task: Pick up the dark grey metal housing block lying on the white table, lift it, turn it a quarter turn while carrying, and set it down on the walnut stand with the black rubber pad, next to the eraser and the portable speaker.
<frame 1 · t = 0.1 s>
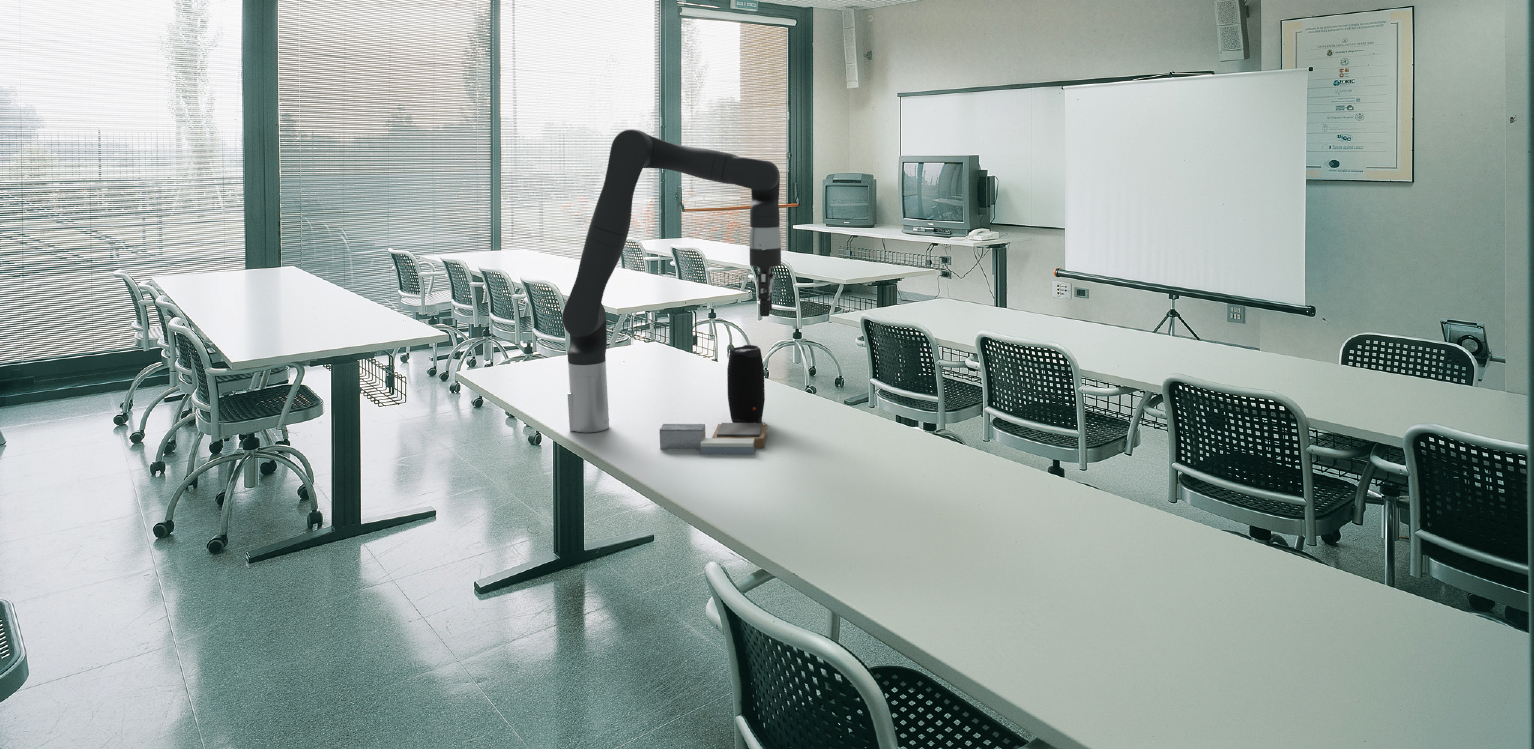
hand: (766, 313, 231), 29 cm above the table, tool pointing down, fingers open, 8 cm apart
eraser: (727, 453, 220), on the table
housing: (683, 447, 224), on the table
portable speaker: (746, 423, 244), on the table
stand: (740, 440, 228), on the table
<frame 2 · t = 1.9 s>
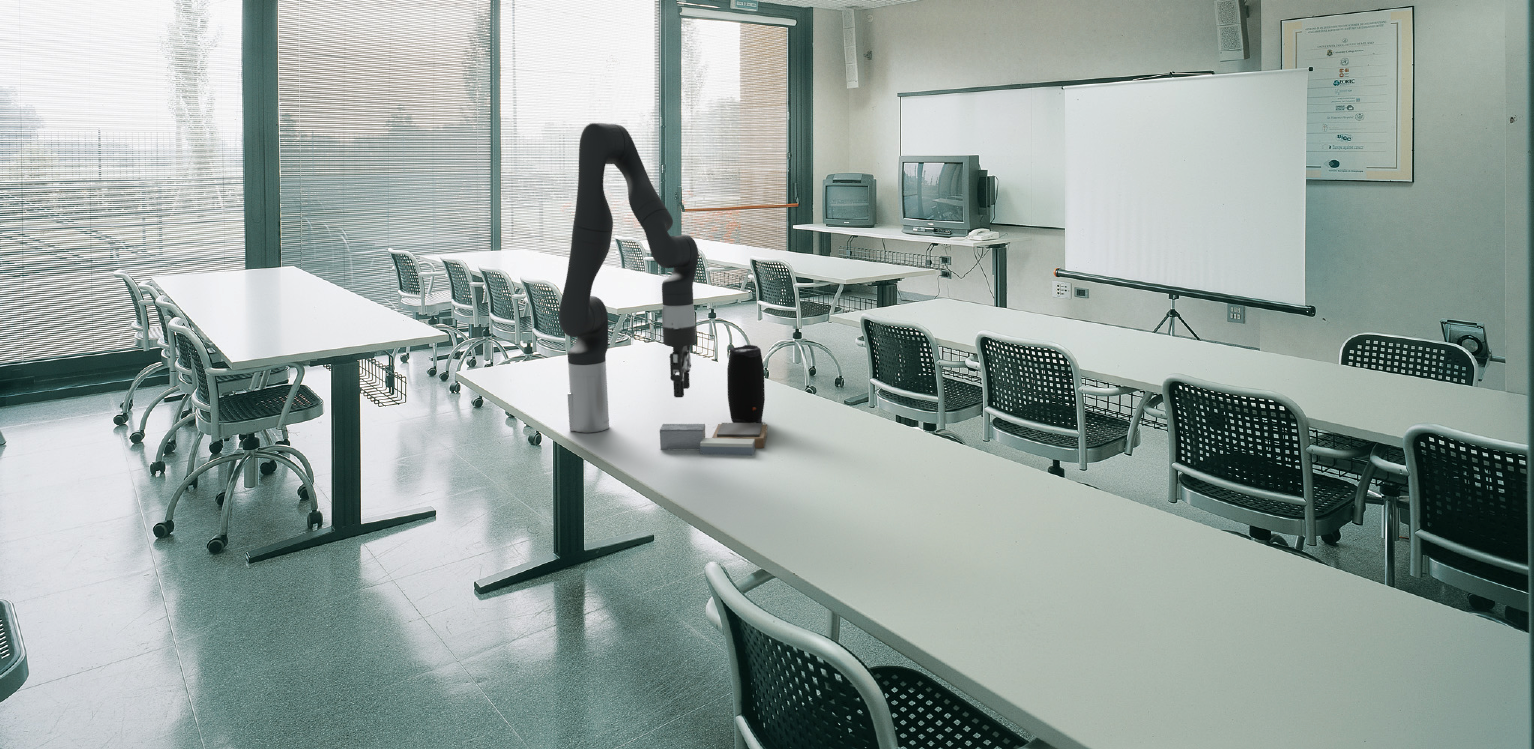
hand: (682, 392, 221), 13 cm above the table, tool pointing down, fingers open, 8 cm apart
nothing on the table moved.
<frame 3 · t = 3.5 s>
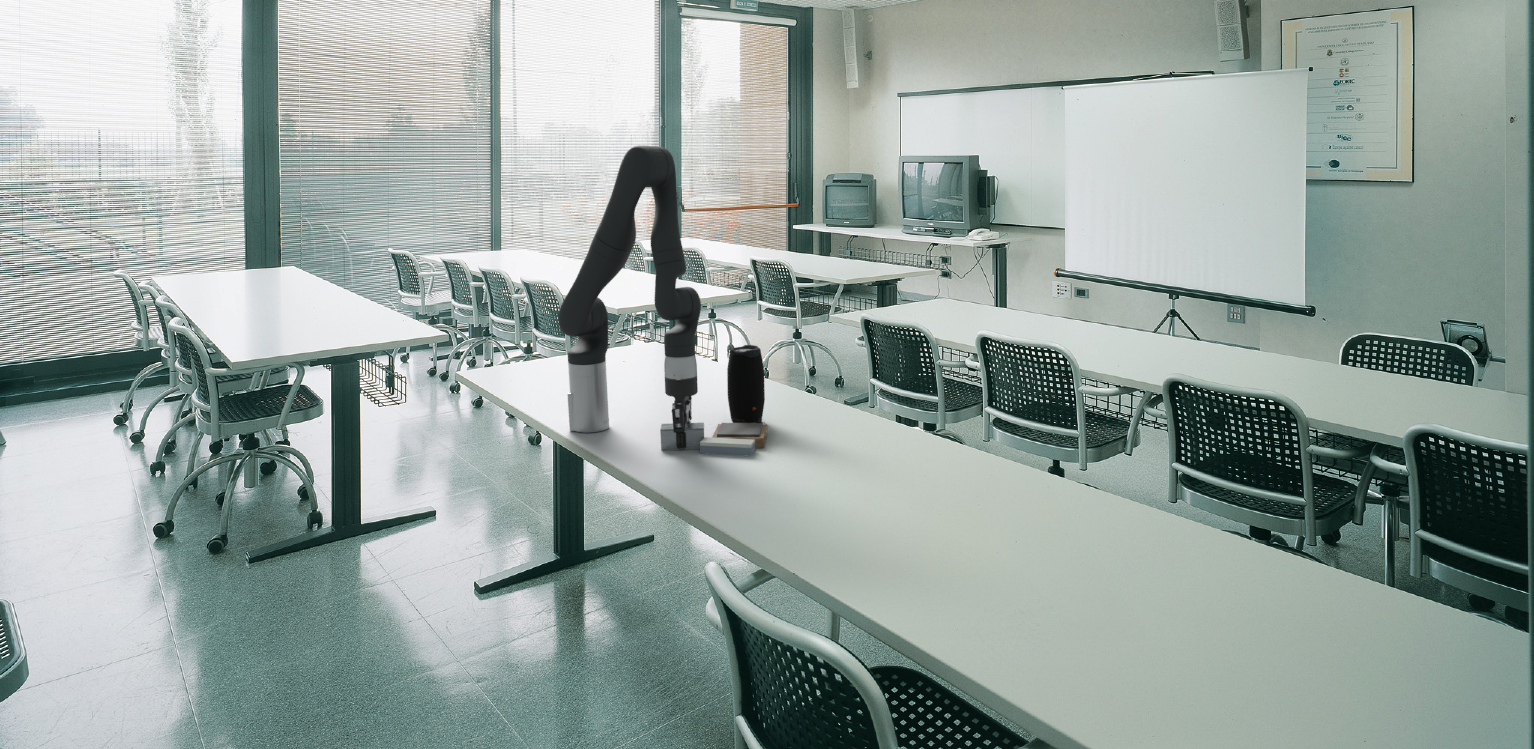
hand: (683, 444, 224), 1 cm above the table, tool pointing down, fingers closed on housing, 5 cm apart
housing: (683, 446, 224), on the table, touching gripper
everything else where it was.
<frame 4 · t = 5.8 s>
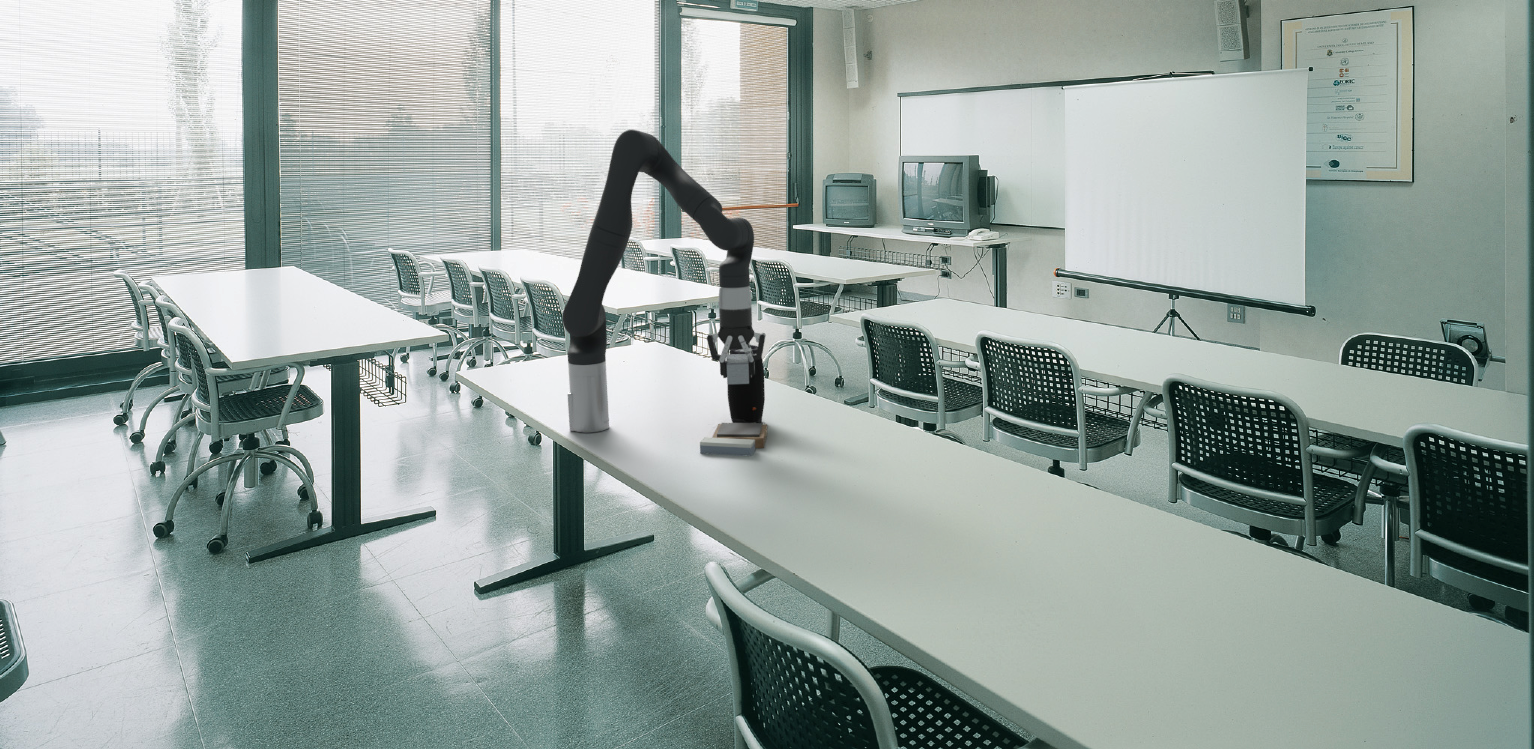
hand: (737, 376, 224), 16 cm above the table, tool pointing down, fingers closed on housing, 5 cm apart
housing: (737, 379, 224), point 15 cm above the table, touching gripper
everything else where it was.
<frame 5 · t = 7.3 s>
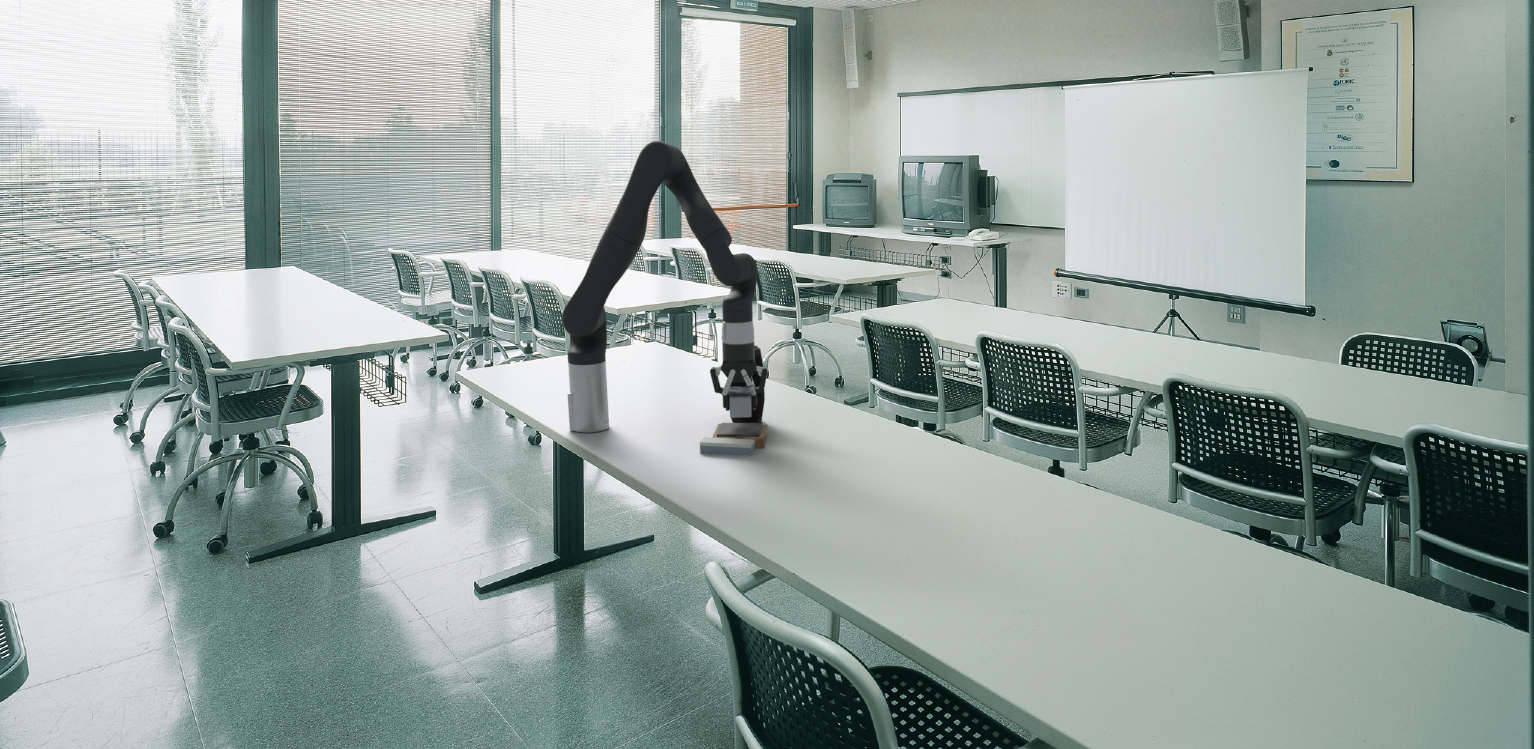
hand: (740, 409, 227), 8 cm above the table, tool pointing down, fingers closed on housing, 5 cm apart
housing: (740, 411, 227), point 7 cm above the table, touching gripper
everything else where it was.
when the fingers open (4 cm above the table, at t = 8.4 s): housing stays where it is, resting on stand.
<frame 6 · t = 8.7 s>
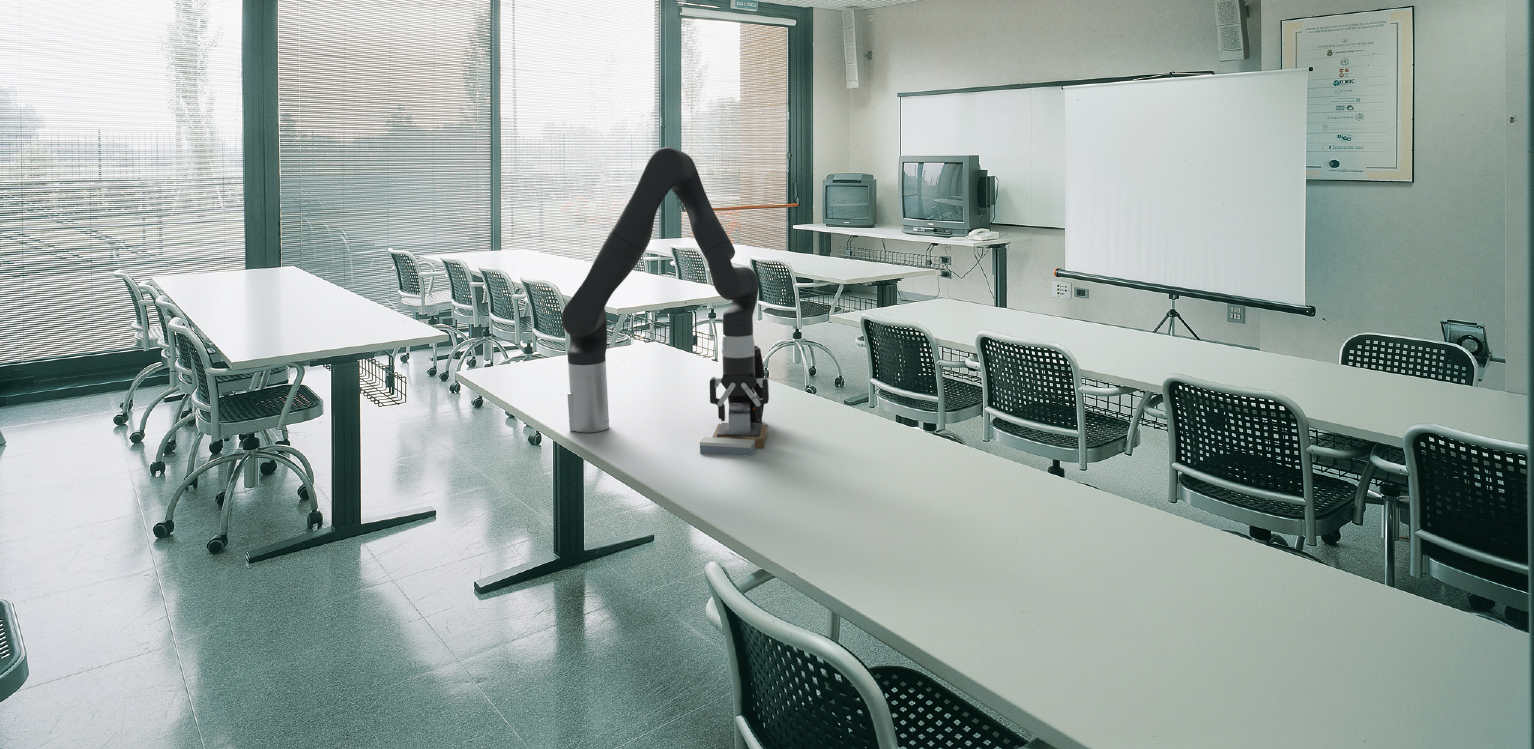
hand: (739, 420, 227), 5 cm above the table, tool pointing down, fingers open, 7 cm apart
housing: (739, 428, 228), point 3 cm above the table, touching stand
everything else where it was.
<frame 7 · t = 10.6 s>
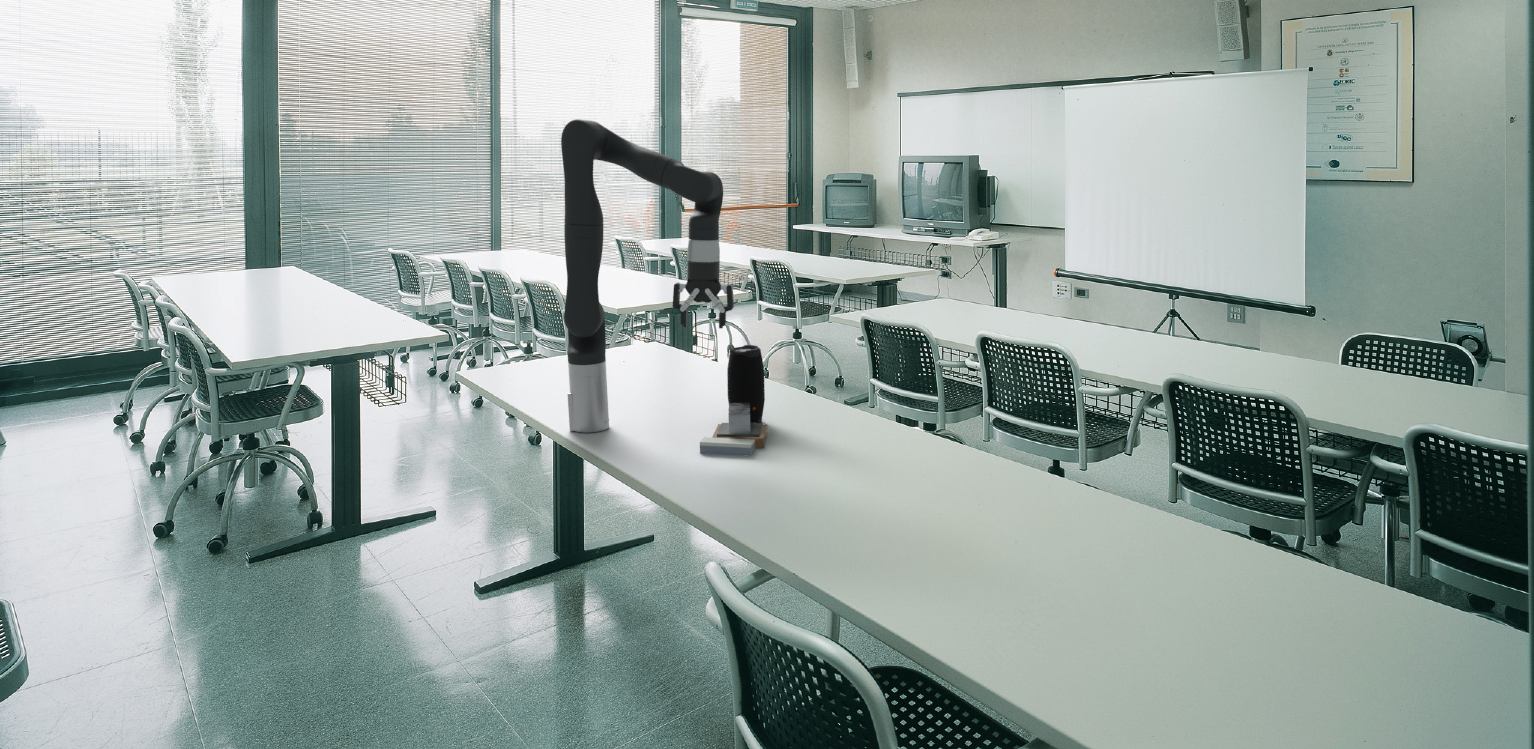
hand: (703, 327, 226), 27 cm above the table, tool pointing down, fingers open, 8 cm apart
nothing on the table moved.
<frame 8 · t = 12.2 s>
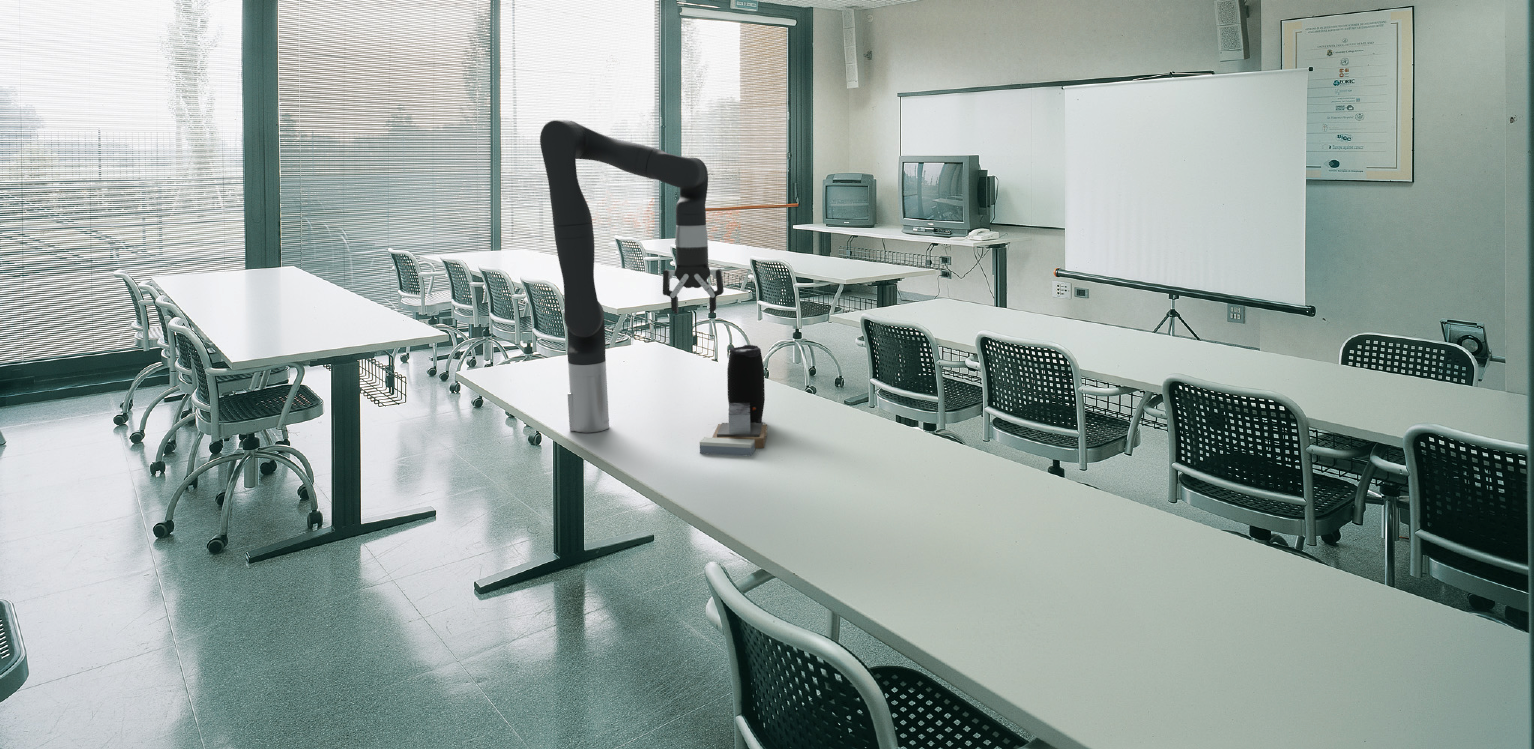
hand: (693, 313, 227), 30 cm above the table, tool pointing down, fingers open, 8 cm apart
nothing on the table moved.
at the end: housing inside the target area on the stand (0.1 cm from its centre), point 3.0 cm above the stand's base; housing tilted 0°; the gripper is holding nothing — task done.
